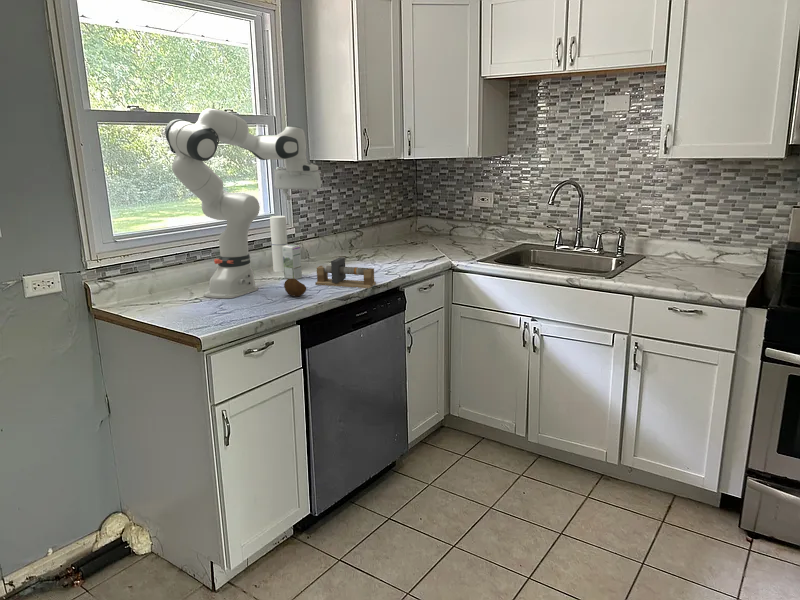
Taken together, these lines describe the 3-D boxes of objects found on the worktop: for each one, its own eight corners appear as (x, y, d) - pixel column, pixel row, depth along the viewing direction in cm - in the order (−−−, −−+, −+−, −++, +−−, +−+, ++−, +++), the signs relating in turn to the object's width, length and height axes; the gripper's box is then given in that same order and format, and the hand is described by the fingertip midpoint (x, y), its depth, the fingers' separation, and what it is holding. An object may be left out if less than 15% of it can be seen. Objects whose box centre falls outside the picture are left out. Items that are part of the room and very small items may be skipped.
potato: (298, 300, 230) (297, 282, 229) (277, 295, 237) (276, 278, 235) (311, 296, 236) (310, 278, 234) (290, 292, 242) (289, 275, 241)
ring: (337, 283, 250) (336, 261, 248) (331, 282, 251) (331, 261, 248) (345, 278, 258) (345, 257, 256) (340, 277, 259) (339, 257, 257)
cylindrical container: (270, 271, 281) (266, 217, 274) (279, 268, 287) (276, 215, 281) (282, 272, 278) (278, 218, 271) (292, 269, 284) (288, 216, 277)
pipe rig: (369, 288, 247) (368, 270, 245) (315, 284, 254) (314, 267, 252) (375, 283, 254) (375, 266, 252) (323, 280, 261) (322, 263, 259)
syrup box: (302, 277, 268) (300, 244, 264) (293, 280, 263) (291, 247, 259) (292, 276, 270) (290, 244, 267) (283, 278, 266) (281, 246, 262)
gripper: (270, 167, 253) (272, 200, 257) (315, 167, 247) (317, 201, 251) (277, 166, 259) (279, 199, 263) (321, 166, 253) (323, 199, 257)
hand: (298, 200), depth 257 cm, fingers open, 8 cm apart
